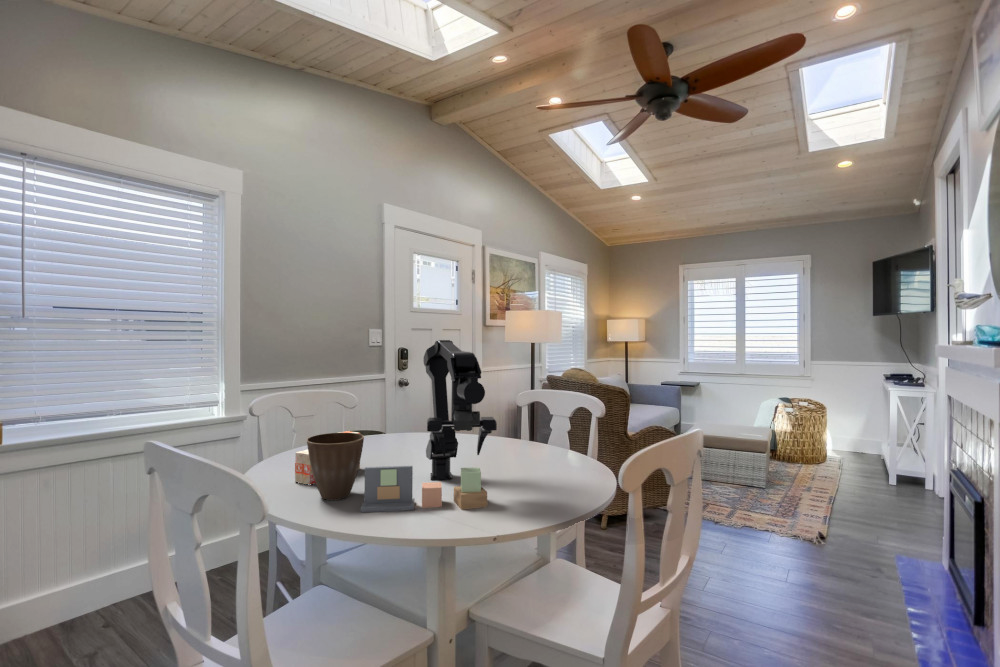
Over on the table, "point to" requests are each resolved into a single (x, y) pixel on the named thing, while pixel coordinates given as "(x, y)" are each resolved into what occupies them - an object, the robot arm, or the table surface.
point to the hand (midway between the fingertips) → (461, 455)
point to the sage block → (470, 479)
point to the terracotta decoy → (431, 494)
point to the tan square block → (470, 498)
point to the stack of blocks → (306, 466)
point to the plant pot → (335, 462)
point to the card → (388, 489)
